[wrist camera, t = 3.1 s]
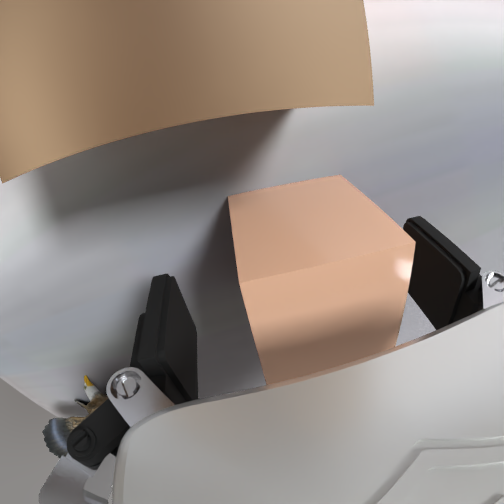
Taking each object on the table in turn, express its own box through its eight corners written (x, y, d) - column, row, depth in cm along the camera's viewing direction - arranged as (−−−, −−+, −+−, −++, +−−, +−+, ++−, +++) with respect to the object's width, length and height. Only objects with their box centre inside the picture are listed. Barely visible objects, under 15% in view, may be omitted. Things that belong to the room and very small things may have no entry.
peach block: (339, 174, 13) (415, 241, 8) (343, 265, 15) (393, 352, 10) (227, 195, 13) (239, 283, 7) (249, 287, 15) (267, 387, 10)
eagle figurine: (65, 346, 15) (27, 406, 16) (113, 456, 11) (62, 489, 12) (148, 352, 21) (97, 404, 22) (196, 431, 18) (133, 471, 19)
